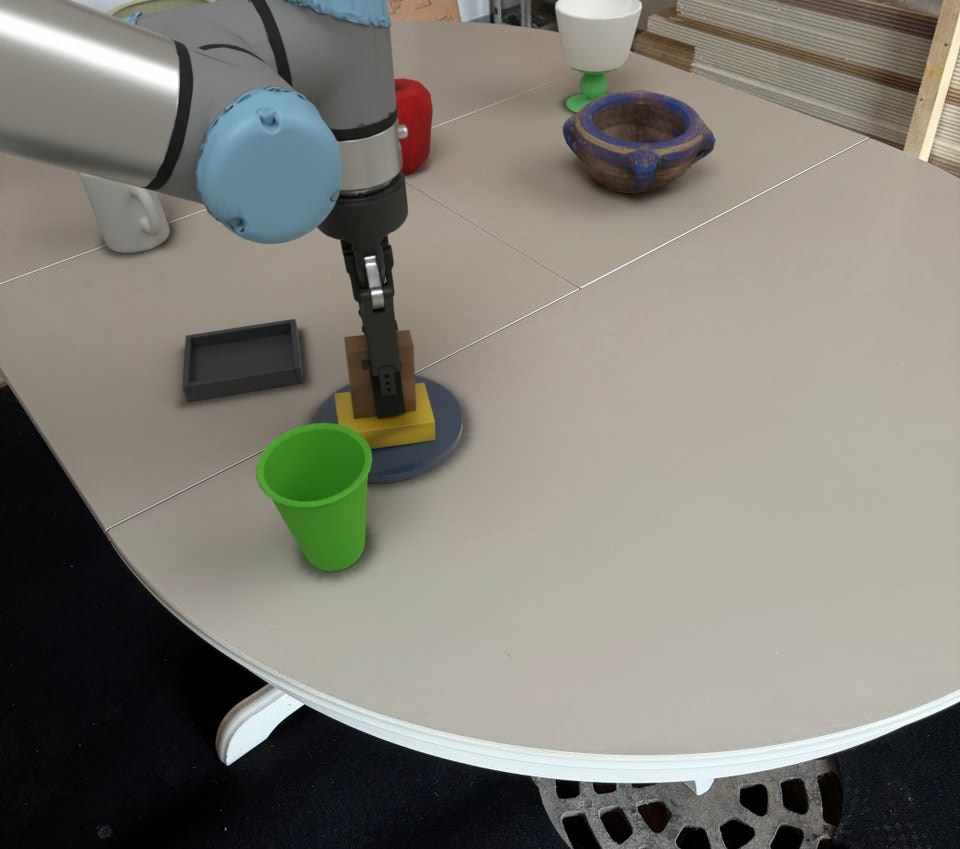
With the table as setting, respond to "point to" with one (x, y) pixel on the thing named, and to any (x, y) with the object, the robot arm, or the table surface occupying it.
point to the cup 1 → (320, 490)
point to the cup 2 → (595, 41)
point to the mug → (126, 214)
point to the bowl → (637, 139)
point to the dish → (242, 360)
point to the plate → (414, 456)
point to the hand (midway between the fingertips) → (388, 402)
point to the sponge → (360, 405)
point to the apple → (414, 122)
